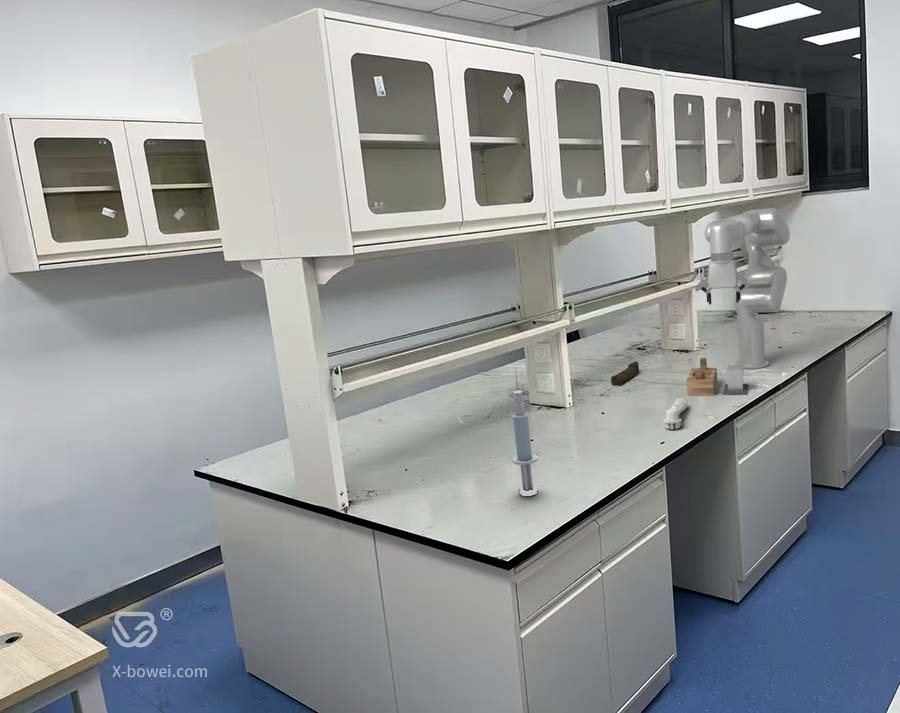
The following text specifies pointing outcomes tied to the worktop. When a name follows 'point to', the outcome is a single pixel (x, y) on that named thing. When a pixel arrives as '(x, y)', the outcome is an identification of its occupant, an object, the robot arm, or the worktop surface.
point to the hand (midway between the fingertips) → (723, 303)
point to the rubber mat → (735, 391)
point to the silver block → (735, 377)
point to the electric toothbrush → (675, 414)
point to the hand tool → (625, 374)
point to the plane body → (702, 380)
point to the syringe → (523, 441)
